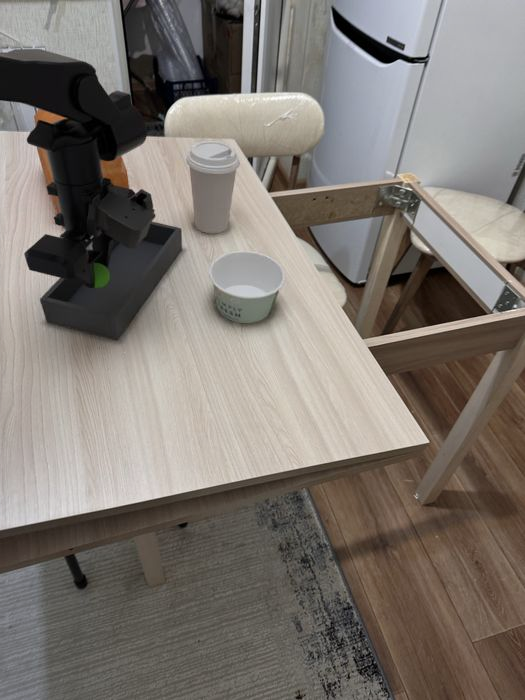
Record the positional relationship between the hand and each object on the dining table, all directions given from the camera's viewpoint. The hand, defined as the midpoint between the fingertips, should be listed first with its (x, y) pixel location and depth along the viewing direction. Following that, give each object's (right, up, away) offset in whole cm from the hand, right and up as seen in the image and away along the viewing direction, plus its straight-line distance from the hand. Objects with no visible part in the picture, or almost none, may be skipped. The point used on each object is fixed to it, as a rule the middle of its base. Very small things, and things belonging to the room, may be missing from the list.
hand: (97, 279), depth 69 cm
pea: (0, -1, +1) cm, 1 cm away
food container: (+20, -3, +12) cm, 24 cm away
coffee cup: (+13, +15, +28) cm, 34 cm away
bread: (-13, +22, +31) cm, 40 cm away
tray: (0, +1, +12) cm, 13 cm away
